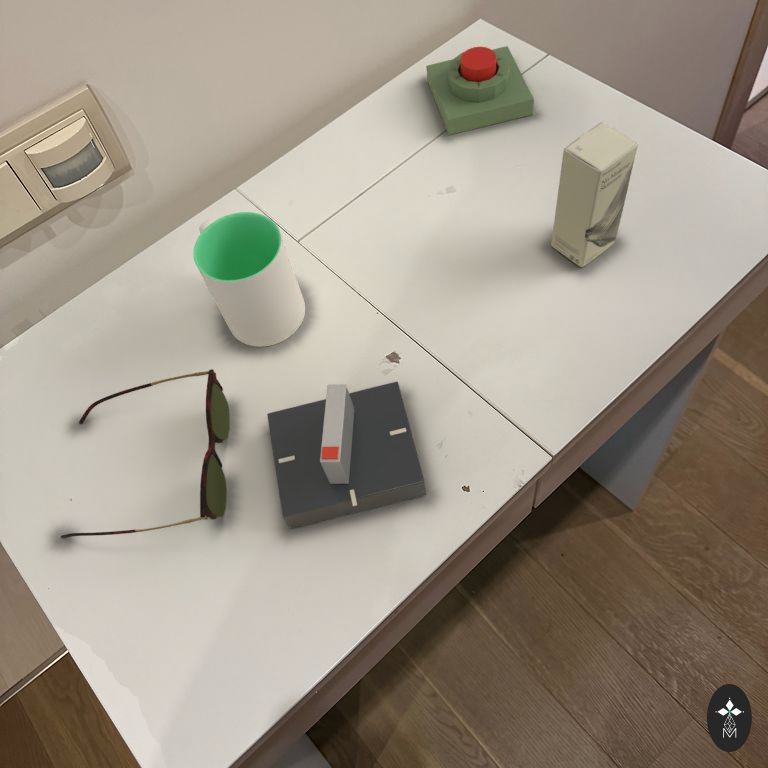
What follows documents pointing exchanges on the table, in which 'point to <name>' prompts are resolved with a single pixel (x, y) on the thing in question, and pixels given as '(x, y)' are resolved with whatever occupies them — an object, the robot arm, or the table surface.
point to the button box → (479, 94)
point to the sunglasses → (212, 473)
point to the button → (478, 64)
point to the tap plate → (367, 466)
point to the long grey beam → (337, 434)
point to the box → (592, 192)
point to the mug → (250, 277)
